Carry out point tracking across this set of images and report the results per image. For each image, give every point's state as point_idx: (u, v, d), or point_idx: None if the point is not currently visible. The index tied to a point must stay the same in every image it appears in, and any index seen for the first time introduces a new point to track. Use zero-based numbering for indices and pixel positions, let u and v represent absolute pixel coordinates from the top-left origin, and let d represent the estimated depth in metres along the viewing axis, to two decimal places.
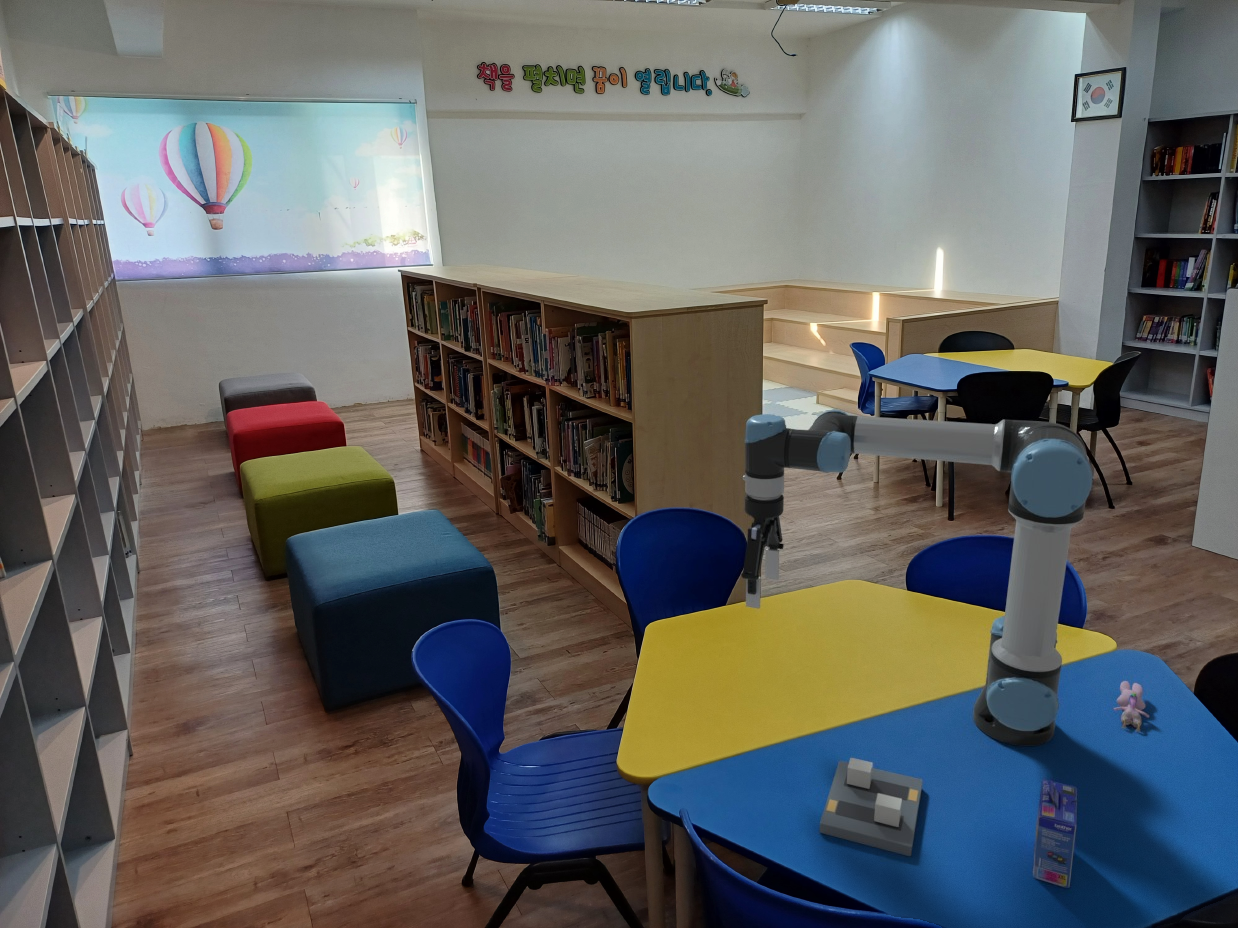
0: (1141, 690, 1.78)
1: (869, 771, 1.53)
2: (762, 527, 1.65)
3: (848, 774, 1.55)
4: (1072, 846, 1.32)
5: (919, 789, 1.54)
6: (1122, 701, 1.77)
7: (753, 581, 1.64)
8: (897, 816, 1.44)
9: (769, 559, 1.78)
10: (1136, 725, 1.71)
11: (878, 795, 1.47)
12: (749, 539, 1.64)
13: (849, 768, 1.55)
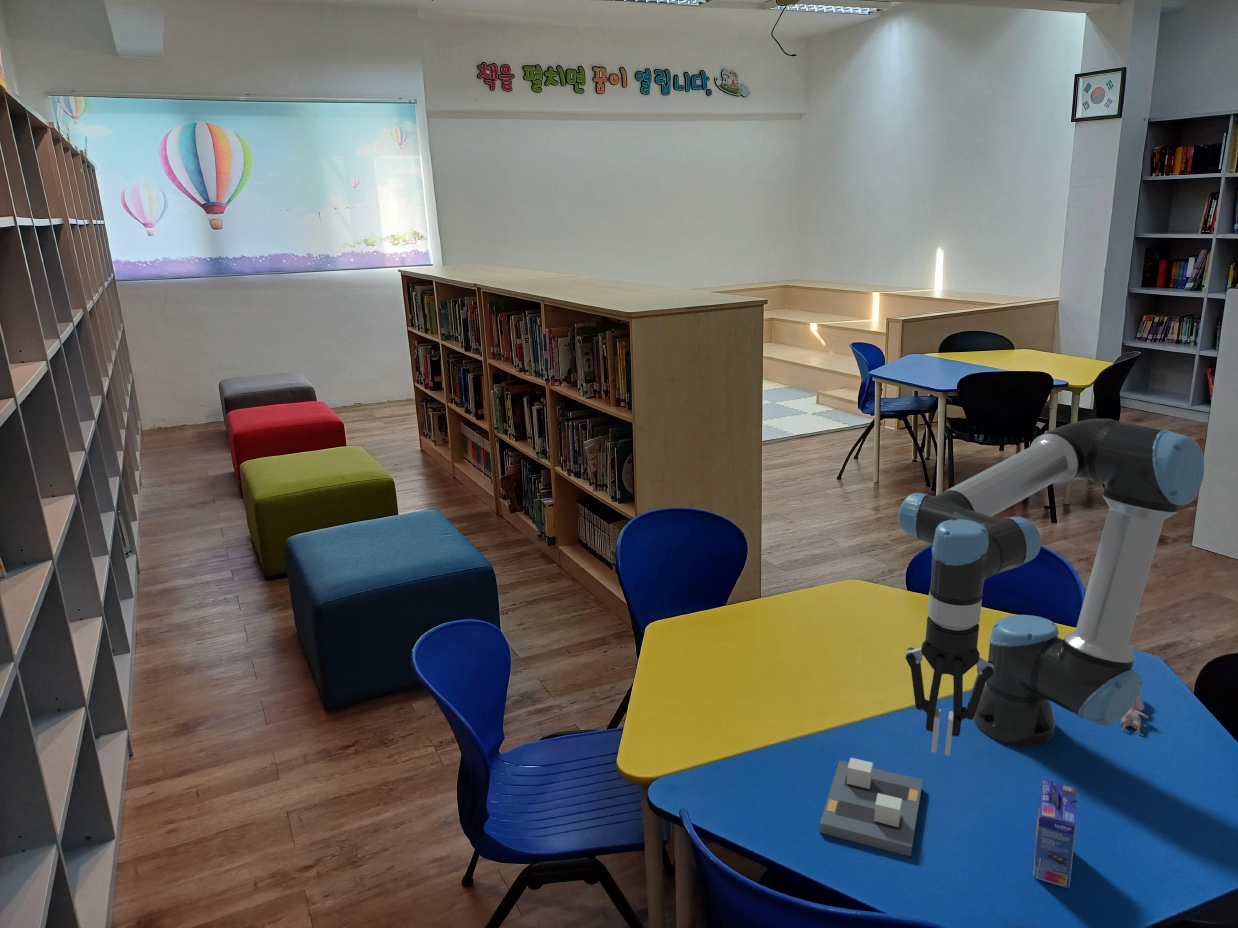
0: None
1: (869, 771, 1.53)
2: (922, 651, 1.34)
3: (848, 774, 1.55)
4: (1072, 846, 1.32)
5: (919, 789, 1.54)
6: None
7: None
8: (897, 816, 1.44)
9: None
10: (1136, 726, 1.71)
11: (878, 795, 1.47)
12: None
13: (849, 768, 1.55)
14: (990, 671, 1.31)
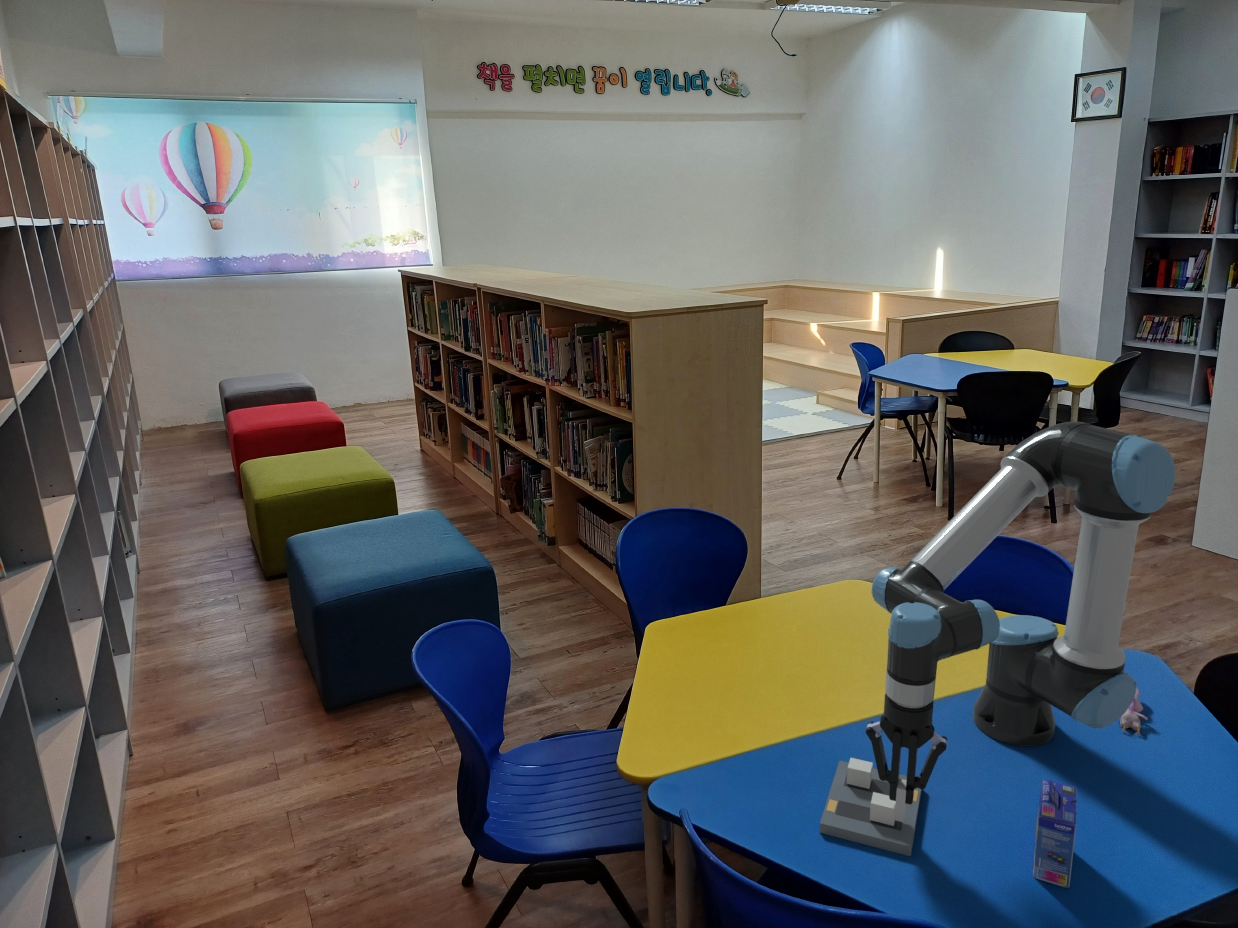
0: (1138, 692, 1.78)
1: (869, 771, 1.53)
2: (880, 725, 1.41)
3: (848, 774, 1.55)
4: (1072, 846, 1.32)
5: (919, 789, 1.54)
6: None
7: None
8: (892, 815, 1.45)
9: None
10: (1136, 728, 1.70)
11: (874, 794, 1.48)
12: None
13: (849, 768, 1.55)
14: (943, 747, 1.37)
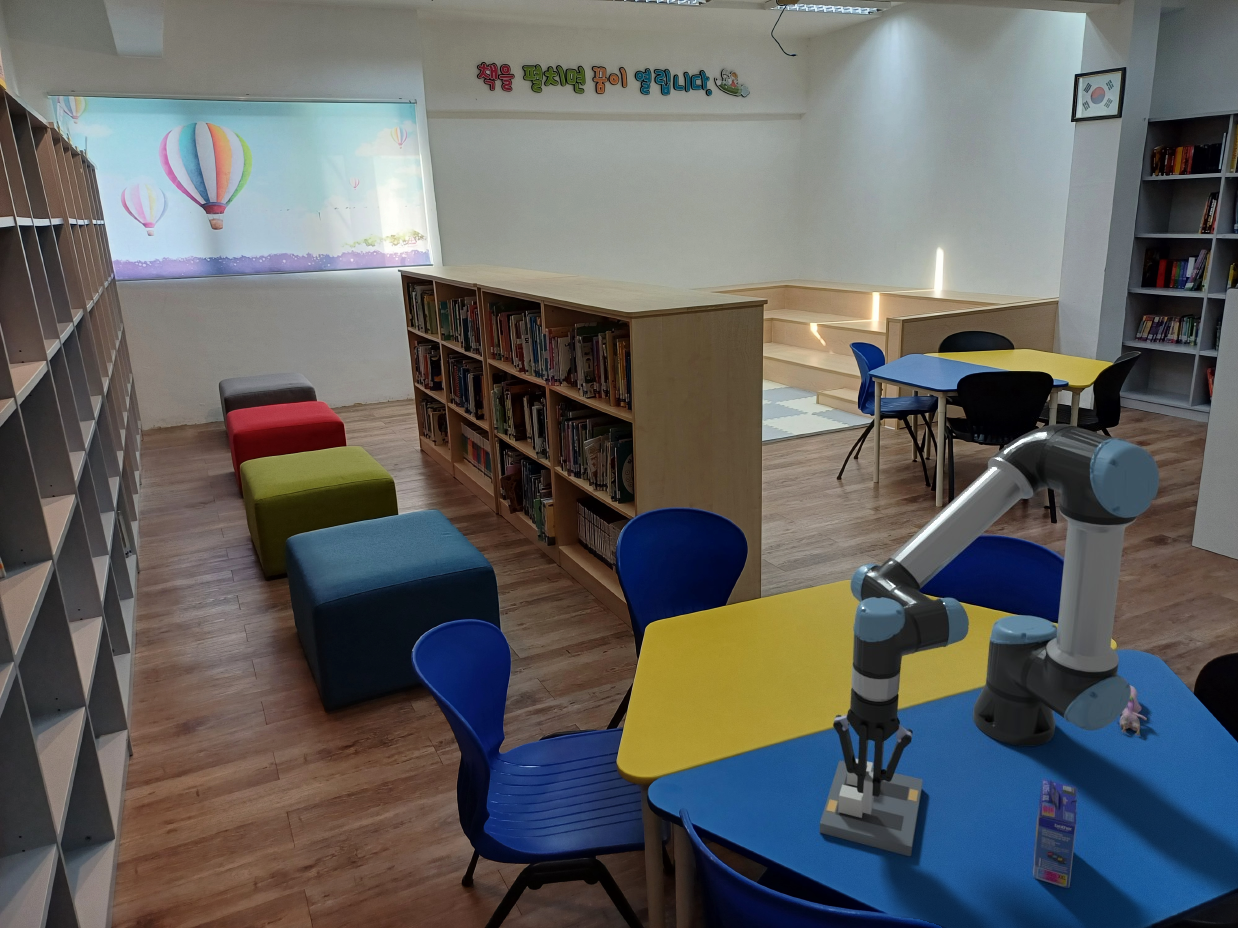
0: (1135, 692, 1.78)
1: (869, 771, 1.53)
2: (847, 719, 1.43)
3: (848, 774, 1.55)
4: (1072, 846, 1.32)
5: (919, 789, 1.54)
6: None
7: None
8: (860, 807, 1.47)
9: None
10: (1135, 729, 1.70)
11: (842, 786, 1.50)
12: None
13: None
14: (908, 739, 1.40)
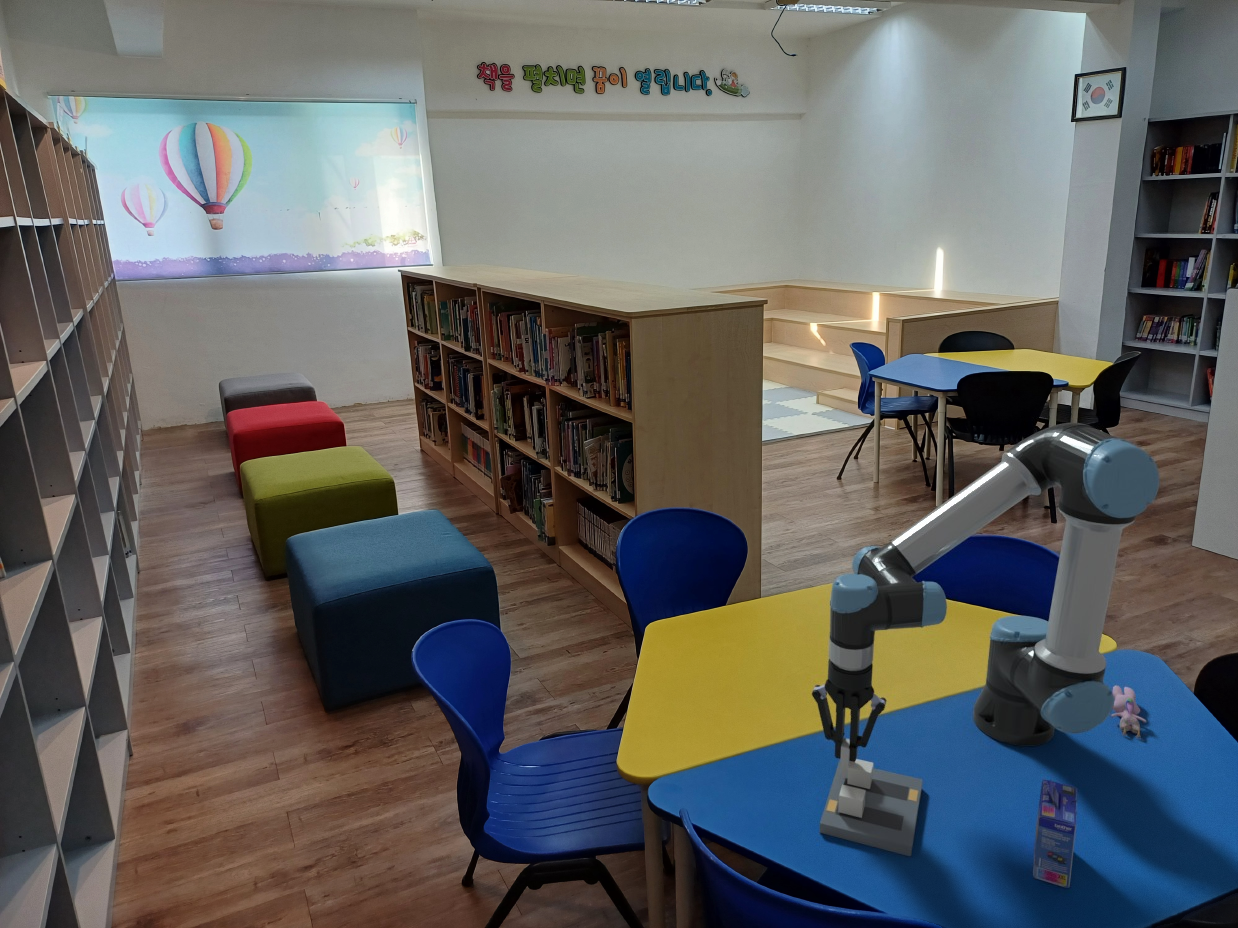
0: (1134, 694, 1.77)
1: (870, 771, 1.53)
2: (825, 688, 1.53)
3: (849, 774, 1.55)
4: (1072, 846, 1.32)
5: (919, 789, 1.54)
6: (1117, 707, 1.75)
7: None
8: (860, 807, 1.47)
9: None
10: (1135, 731, 1.69)
11: (842, 786, 1.50)
12: None
13: (850, 768, 1.55)
14: (881, 707, 1.49)
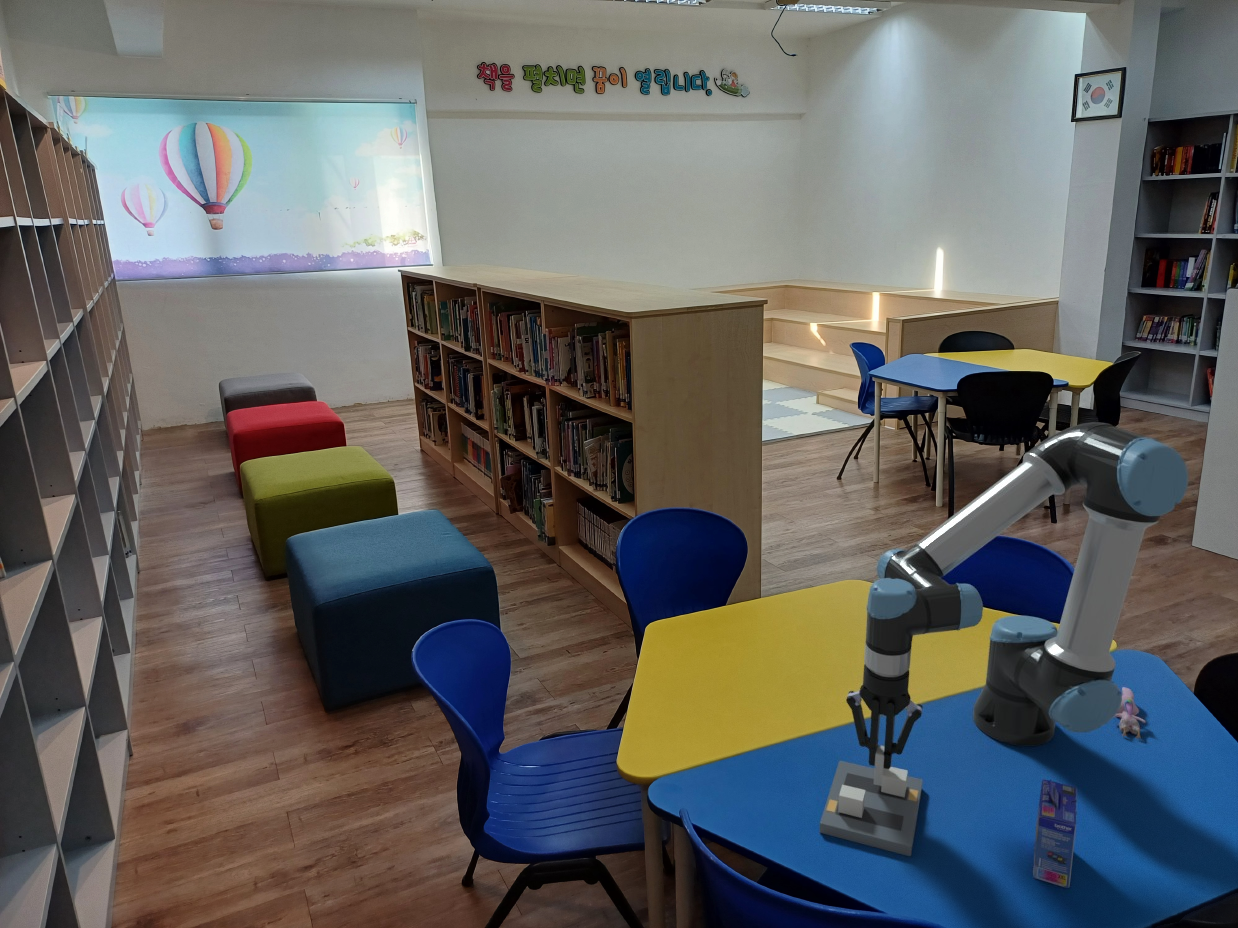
0: (1132, 694, 1.77)
1: (904, 779, 1.51)
2: (860, 694, 1.50)
3: (883, 782, 1.53)
4: (1072, 846, 1.32)
5: (919, 789, 1.54)
6: None
7: None
8: (860, 807, 1.47)
9: None
10: (1135, 732, 1.69)
11: (842, 786, 1.50)
12: None
13: (884, 776, 1.52)
14: (918, 714, 1.46)
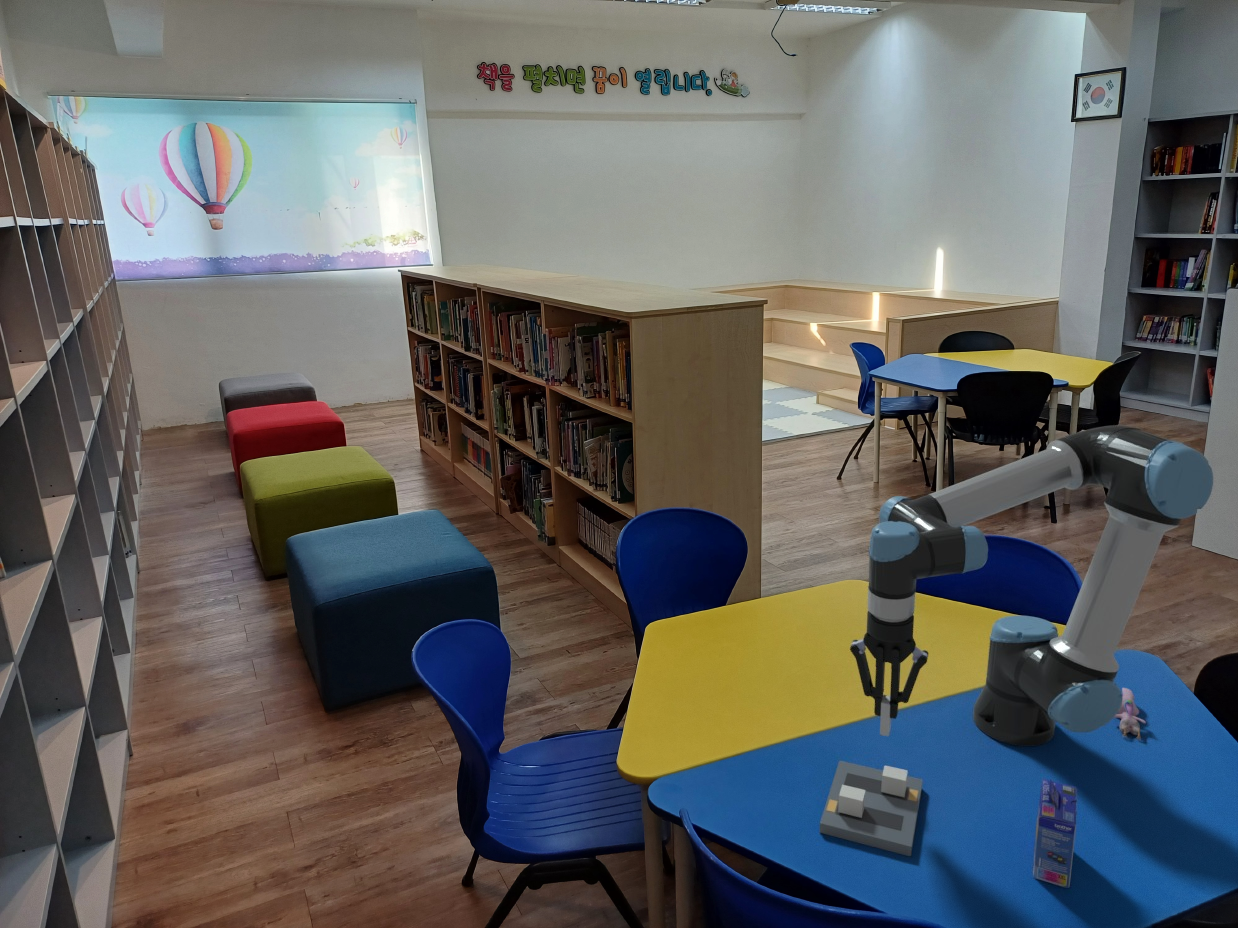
0: (1132, 695, 1.77)
1: (904, 779, 1.51)
2: (864, 642, 1.47)
3: (883, 782, 1.53)
4: (1072, 846, 1.32)
5: (919, 789, 1.54)
6: None
7: None
8: (860, 807, 1.47)
9: None
10: (1135, 733, 1.69)
11: (842, 786, 1.50)
12: None
13: (884, 776, 1.52)
14: (924, 660, 1.43)
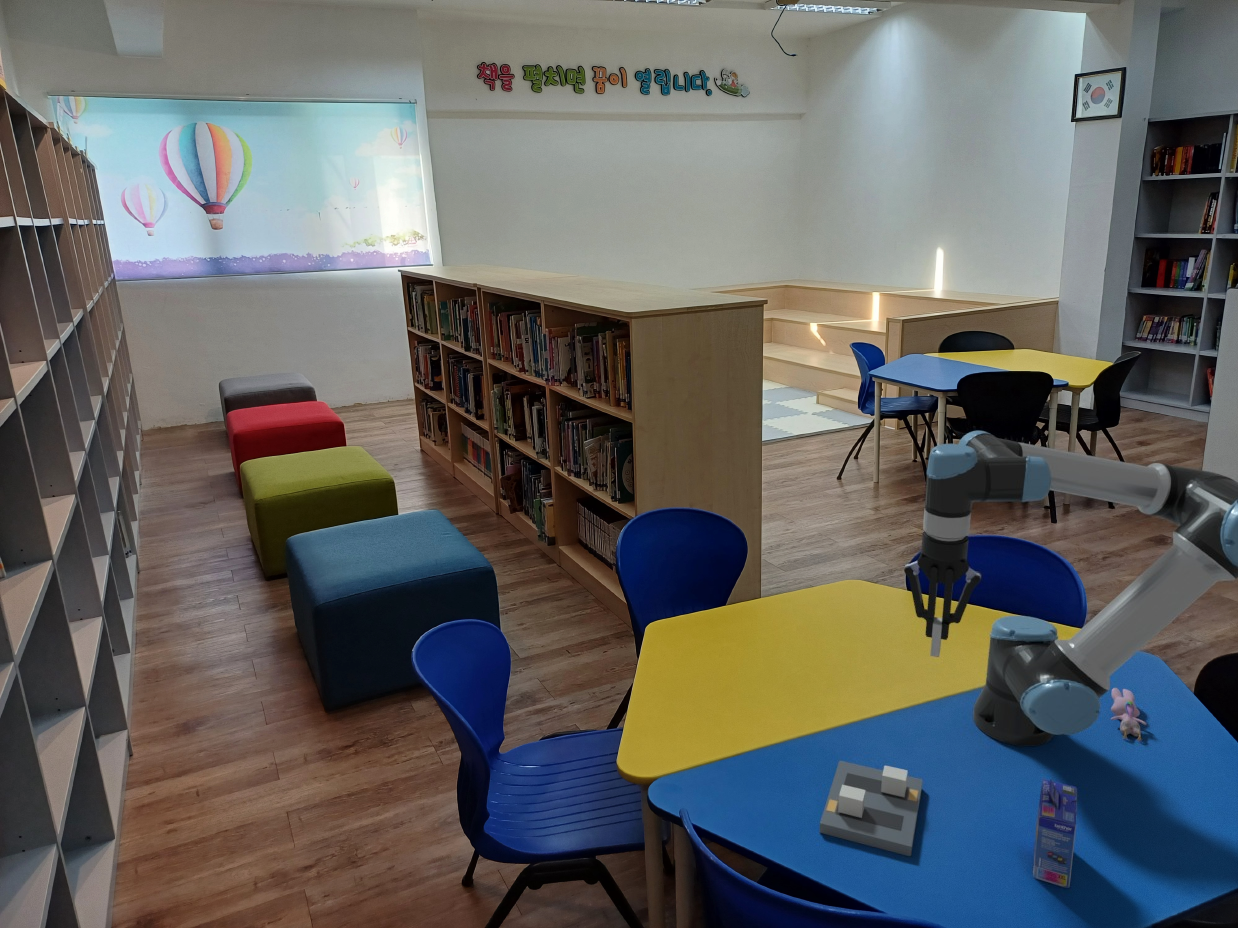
0: (1133, 696, 1.76)
1: (904, 779, 1.51)
2: (918, 563, 1.51)
3: (883, 782, 1.53)
4: (1072, 846, 1.32)
5: (919, 789, 1.54)
6: (1117, 710, 1.74)
7: (926, 621, 1.54)
8: (860, 807, 1.47)
9: None
10: (1136, 734, 1.68)
11: (842, 786, 1.50)
12: None
13: (884, 776, 1.52)
14: (978, 579, 1.47)
